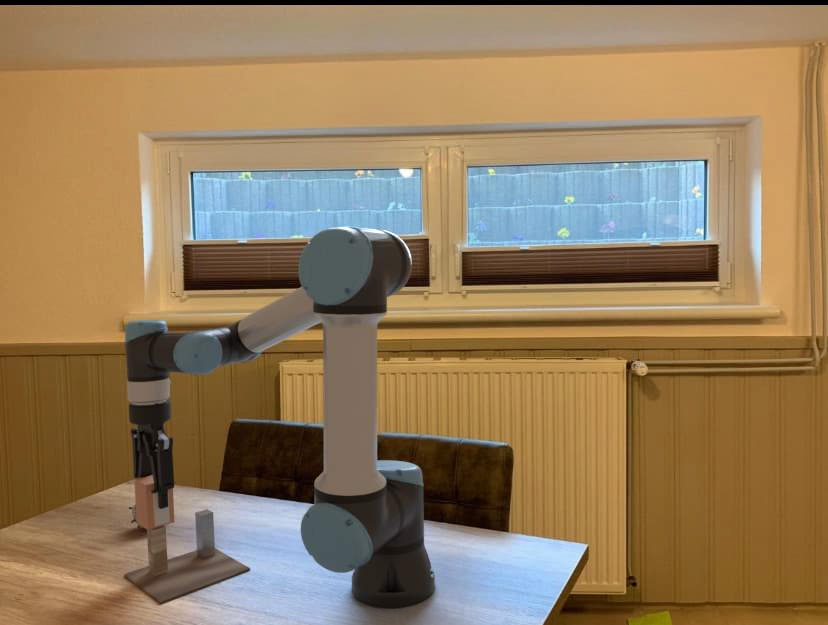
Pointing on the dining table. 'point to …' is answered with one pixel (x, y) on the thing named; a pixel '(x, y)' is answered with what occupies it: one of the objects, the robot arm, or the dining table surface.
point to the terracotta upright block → (149, 502)
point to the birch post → (157, 550)
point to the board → (186, 575)
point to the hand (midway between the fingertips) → (155, 519)
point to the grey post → (205, 534)
